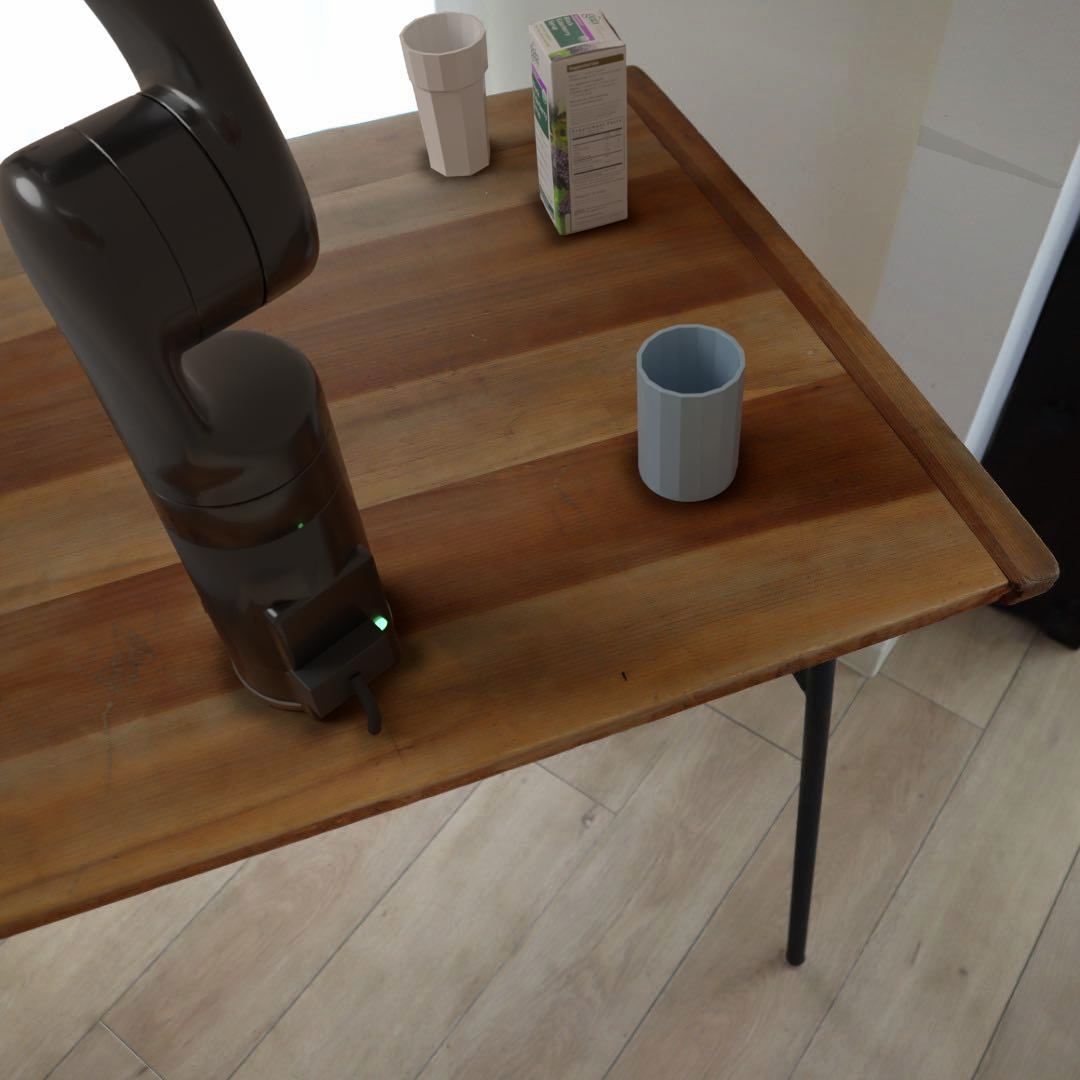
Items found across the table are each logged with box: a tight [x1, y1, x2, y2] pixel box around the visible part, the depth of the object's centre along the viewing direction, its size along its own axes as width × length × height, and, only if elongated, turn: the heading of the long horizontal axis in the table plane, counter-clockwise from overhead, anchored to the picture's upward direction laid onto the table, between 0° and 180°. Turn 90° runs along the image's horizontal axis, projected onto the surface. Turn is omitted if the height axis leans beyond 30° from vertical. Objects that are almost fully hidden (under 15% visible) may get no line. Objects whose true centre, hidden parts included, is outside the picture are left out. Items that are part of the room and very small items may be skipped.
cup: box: [398, 10, 491, 178], centre depth 94 cm, size 7×7×11 cm
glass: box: [636, 323, 747, 503], centre depth 71 cm, size 6×6×9 cm
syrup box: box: [528, 9, 629, 236], centre depth 87 cm, size 6×6×14 cm
